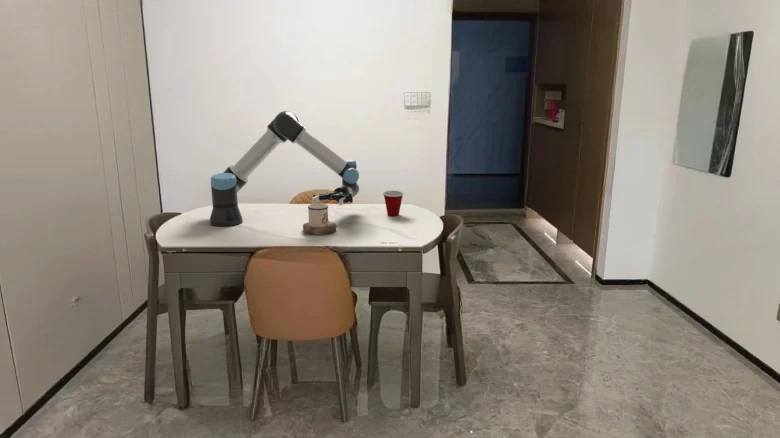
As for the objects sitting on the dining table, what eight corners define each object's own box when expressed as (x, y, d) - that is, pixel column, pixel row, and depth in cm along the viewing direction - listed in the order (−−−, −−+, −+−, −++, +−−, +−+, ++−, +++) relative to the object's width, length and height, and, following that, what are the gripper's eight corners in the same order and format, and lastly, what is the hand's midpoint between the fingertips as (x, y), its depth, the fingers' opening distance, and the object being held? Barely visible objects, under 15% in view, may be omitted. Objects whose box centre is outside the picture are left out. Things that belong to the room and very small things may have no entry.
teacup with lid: (325, 228, 239) (325, 202, 237) (305, 227, 241) (305, 201, 238) (332, 222, 251) (331, 197, 248) (313, 221, 252) (312, 196, 249)
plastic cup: (382, 217, 273) (382, 194, 271) (382, 213, 284) (382, 190, 281) (404, 217, 274) (404, 194, 271) (403, 212, 284) (403, 190, 281)
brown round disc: (297, 234, 241) (297, 227, 241) (311, 226, 256) (311, 220, 255) (328, 236, 238) (328, 229, 237) (341, 228, 252) (340, 222, 251)
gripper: (366, 202, 268) (351, 211, 248) (319, 199, 275) (301, 208, 255) (366, 187, 267) (351, 195, 247) (319, 185, 273) (301, 192, 253)
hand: (326, 201), depth 251 cm, fingers open, 13 cm apart
